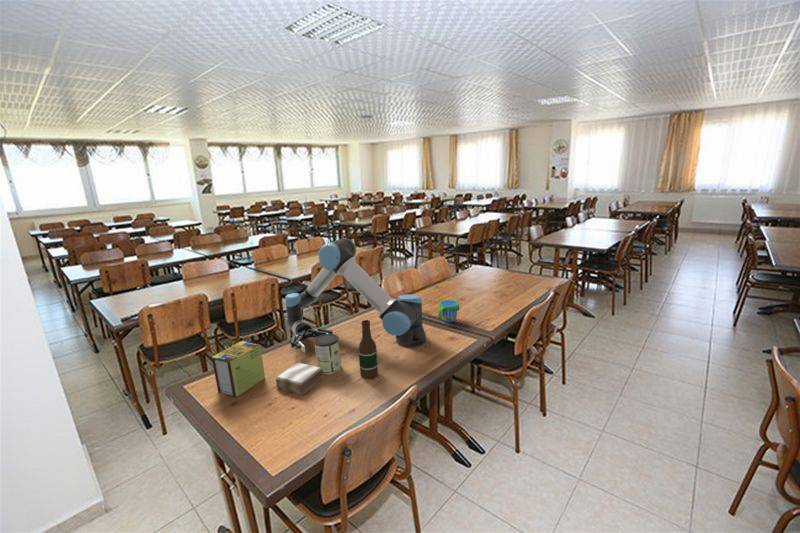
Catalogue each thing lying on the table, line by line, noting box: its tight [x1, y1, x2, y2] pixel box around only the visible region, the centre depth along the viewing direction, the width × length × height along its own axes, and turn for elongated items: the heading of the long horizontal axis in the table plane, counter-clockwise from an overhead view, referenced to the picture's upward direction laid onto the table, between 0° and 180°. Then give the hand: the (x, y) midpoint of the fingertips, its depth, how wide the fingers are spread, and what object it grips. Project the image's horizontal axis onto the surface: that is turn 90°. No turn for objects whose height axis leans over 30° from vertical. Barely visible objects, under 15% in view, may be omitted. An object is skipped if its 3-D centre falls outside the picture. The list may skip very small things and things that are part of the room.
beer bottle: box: [358, 319, 379, 380], centre depth 153 cm, size 8×8×24 cm
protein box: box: [211, 340, 266, 398], centre depth 150 cm, size 10×15×16 cm
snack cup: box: [437, 299, 460, 323], centre depth 206 cm, size 16×10×10 cm
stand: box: [275, 362, 324, 396], centre depth 151 cm, size 13×13×5 cm
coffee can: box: [313, 333, 342, 375], centre depth 160 cm, size 10×10×14 cm
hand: (318, 344), depth 168 cm, fingers open, 13 cm apart
